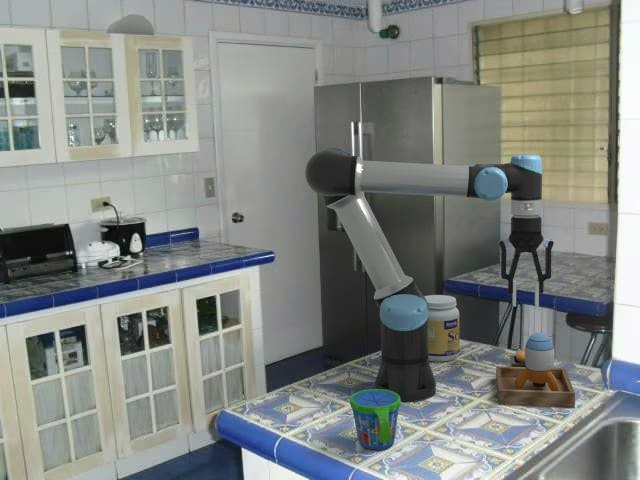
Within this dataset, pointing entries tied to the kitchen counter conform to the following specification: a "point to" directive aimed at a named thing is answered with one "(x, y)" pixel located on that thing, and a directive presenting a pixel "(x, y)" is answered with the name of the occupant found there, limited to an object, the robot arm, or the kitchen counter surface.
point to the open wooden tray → (533, 390)
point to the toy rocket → (538, 363)
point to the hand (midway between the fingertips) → (525, 305)
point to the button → (520, 355)
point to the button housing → (516, 362)
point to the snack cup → (375, 417)
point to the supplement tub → (443, 328)
